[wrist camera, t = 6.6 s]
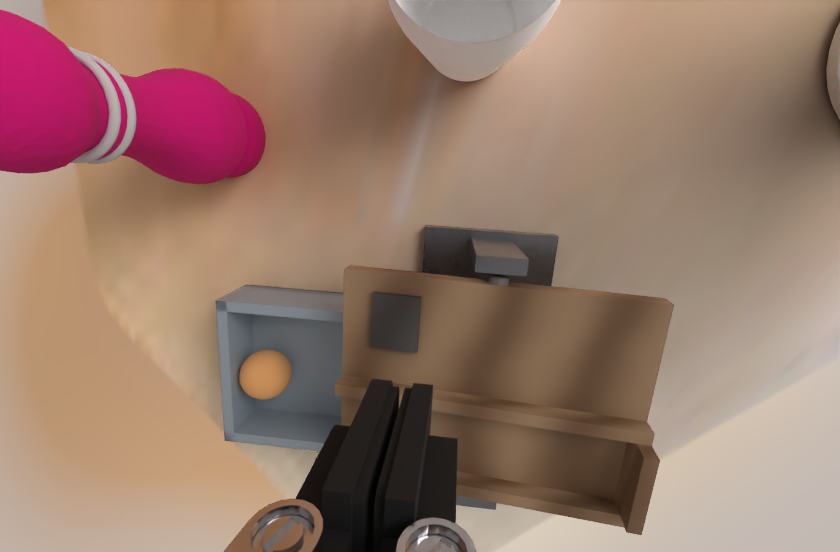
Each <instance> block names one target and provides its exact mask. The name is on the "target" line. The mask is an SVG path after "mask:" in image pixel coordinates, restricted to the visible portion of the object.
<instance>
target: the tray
mask: <svg viewBox="0 0 840 552" xmlns="http://www.w3.org/2000/svg"><path fill="white" fill-rule="evenodd" d="M673 306H674V304H672V303H671V302H669V301H668V300H666V299H665V298H656V297H647V296H637V295H628V294H619V293H609V292H600V291H590V290H581V289H571V288H562V287H552V286H543V285H533V284H524V283H514V282H509V277H508V276H505V275H499V274H491V275H489V278H488V280H486V279H477V278H467V277H458V276H448V275H439V274H429V273H420V272H410V271H401V270H391V269H382V268H372V267H363V266H354V265H350V266H348V267H347V268H345V269H344V298H343V354H342V376H341V377H340V379H339V380H338V381H337V382H336V384H335V395H337V396H342V411H341V425H345V426H351V424H352V422H353V419H354V417H355V415H356V413H357V411H358V408H359V406H360V404H361V402H362V399H363V397H364V395H365V393H366V391H367V388H368V386H369V384H370V382H371V380H372V379H381V380H391V381H392V382H393V386H397V387H399V389H400V391H399V407H400V403H401V400H402V396H403V393H404V389H405V387H406V388H412V386H413V383H420V384H430V385H433V399H432V414H431V429H430V435H432V436H441V437H450V438H458V448H457V484H456V495H459V496H464V497H469V498H475V499H480V500H485V501H490V502H495V503H500V504H506V505H511V506H516V507H521V508H526V509H532V510H537V511H542V512H547V513H552V514H557V515H563V516H568V517H573V518H578V519H583V520H588V521H594V522H599V523H604V524H610V525H614V526H620V527H625V529H626V532H628V533H633V534H639V535H642V531H643V527H644V523H645V519H646V514H647V511H648V506H649V502H650V498H651V494H652V490H653V486H654V482H655V478H656V474H657V470H658V466H659V462H660V460H659V458H658V456H657V455H656V453H655V451H654V449H653V448H652V442H653V438H654V432H653V431H652V429H651V428H650V426H649V424H648V423H647V418H648V414H649V409H650V405H651V401H652V397H653V392H654V388H655V384H656V379H657V375H658V371H659V366H660V362H661V358H662V353H663V349H664V345H665V340H666V336H667V332H668V327H669V323H670V319H671V315H672V310H673Z"/></svg>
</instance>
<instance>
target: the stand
mask: <svg viewBox="0 0 840 552" xmlns="http://www.w3.org/2000/svg"><path fill="white" fill-rule="evenodd" d="M558 237H559V236H557V235H554V234H540V233H527V232H513V231H500V230H486V229H473V228H459V227H446V226H432V225H426V230H425V244H424V259H423V273H429V274H439V275H448V276H458V277H467V278H477V279H486V280H488V278H489V275H491V274H499V275H505V276H508V277H509V282H514V283H524V284H533V285H543V286H551V284H552V277H553V270H554V264H555V257H556V250H557V244H558ZM456 505H461V506H469V507H478V508H486V509H494V510H495V509H496V503H495V502H490V501H485V500H480V499H475V498H469V497H464V496H459V495H456Z"/></svg>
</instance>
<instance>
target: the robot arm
mask: <svg viewBox="0 0 840 552" xmlns="http://www.w3.org/2000/svg"><path fill="white" fill-rule="evenodd" d="M826 70H827V89H828V92H829V96H830V100H831V104H832V106H833V108H834V110H835V112H836V114H837V115H838V117H839V119H840V23H839V25H838V26H837V28H836V31H835V34H834V37H833V40H832V43H831V46H830V49H829V55H828V62H827V69H826ZM399 391H400V389H399V387H397V386H393V382H392V381H391V380H381V379H372V380H371V382H370V384H369V386H368V388H367V391H366V393H365V395H364V397H363V399H362V402H361V404H360V406H359V408H358V411H357V413H356V415H355V417H354V419H353V422H352V424H351V426H345V425H334V427H333V428H332V430H331V431H330V433H329V435H328V437H327V439H326V441H325V443H324V445H323V447H322V449H321V451H320V453H319V455H318V456H317V458H316V460H315V462H314V464H313V466H312V468H311V470H310V472H309V474H308V476H307V478H306V480H305V482H304V483H303V485H302V487H301V489H300V491H299V493H298V495H297V497H296V499H287V500H281V501H277V502H275V503H272V504H269V505H268V506H266V507H264V508H263V509H261V510H259V511H258V512H257V513H256V514H255V515H254V516H253V517H252V518H251V519H250V520H249V521H248V522H247V524H246V525H245V526H244V527H243V528H242V530H241V531H240V532H239V533H238V535H237V536H236V537H235V538H234V540H233V541H232V542H231V543H230V544H229V546H228V547H227V548H226V550H225V551H224V552H476V549H475V547H474V544H473V541H472V539H471V538H470V537H469V535H468V534H467V533H466V531H465V530H463V529H462V528H461V527H459V526H458V525H457V524H455V521H456V484H457V448H458V438H450V437H441V436H432V435H430V429H431V414H432V399H433V385H430V384H420V383H413V386H412V388H406V387H405V389H404V393H403V396H402V400H401V403H400V407H399Z"/></svg>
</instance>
